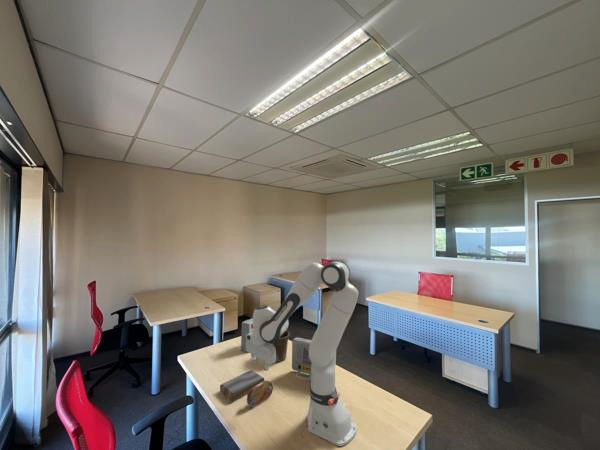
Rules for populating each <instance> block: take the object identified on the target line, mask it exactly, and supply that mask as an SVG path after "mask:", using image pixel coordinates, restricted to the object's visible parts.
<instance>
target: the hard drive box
mask: <svg viewBox="0 0 600 450" xmlns="http://www.w3.org/2000/svg"><path fill="white" fill-rule="evenodd" d="M252 331H253V317H252V318H250V319H246V320H244V321H242V322H241V335H240V336H241V337H240V351H243V352H245V353H248V354H250V353H249V352H247V350H246V340H247V339H246V335H247V334H249V333H252Z"/></svg>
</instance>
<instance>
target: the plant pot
mask: <svg viewBox="0 0 600 450" xmlns="http://www.w3.org/2000/svg"><path fill="white" fill-rule="evenodd" d="M289 338H290V332H289V331H288V330H286V331H285V332H284V333H283V334H282V335H281V336H280V337H279V339H278V340H277V342H275V343H273V346H274V347H275V350H276V362H275V363H277V362H279V363H280V362H283V361H285V360H286V359H287V351H288V343H289V342H288V341H289Z"/></svg>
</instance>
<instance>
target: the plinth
mask: <svg viewBox="0 0 600 450" xmlns="http://www.w3.org/2000/svg"><path fill="white" fill-rule="evenodd" d="M263 381H265V377H264V376H261V375H260V374H258V373H257V372H255V371H254V370H252V369H250V370H247V371H246V372H244V373H242V374H240V375H237V376H236V377H233V378H232V379H229V380H227V381H225V382H223V383H221V384H219V392H220V393H221V394H222V395H223V396H224V397H225V398H226V399H228V400H229V402H231V403H235V402H237V401H238V400H239V399H242V398H244V397H245V396H247V395H248V392H249V391H250V389H251V388H253V387H254V386H256V385H258V384H259V383H261V382H263Z"/></svg>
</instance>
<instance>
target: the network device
mask: <svg viewBox="0 0 600 450" xmlns="http://www.w3.org/2000/svg"><path fill="white" fill-rule="evenodd" d="M311 341H312V339H307V338H302V337H295V338H293V339H292V342H291V369H292V370H293V371H295V372H296V377H297V378H299V379H302V380H305V381H309V382H311V365H312V362H311V361H310V359H309V345H310V343H311ZM301 373H303V374H306V375H309V376H308V377H305V376H301V375H300V374H301Z"/></svg>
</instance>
